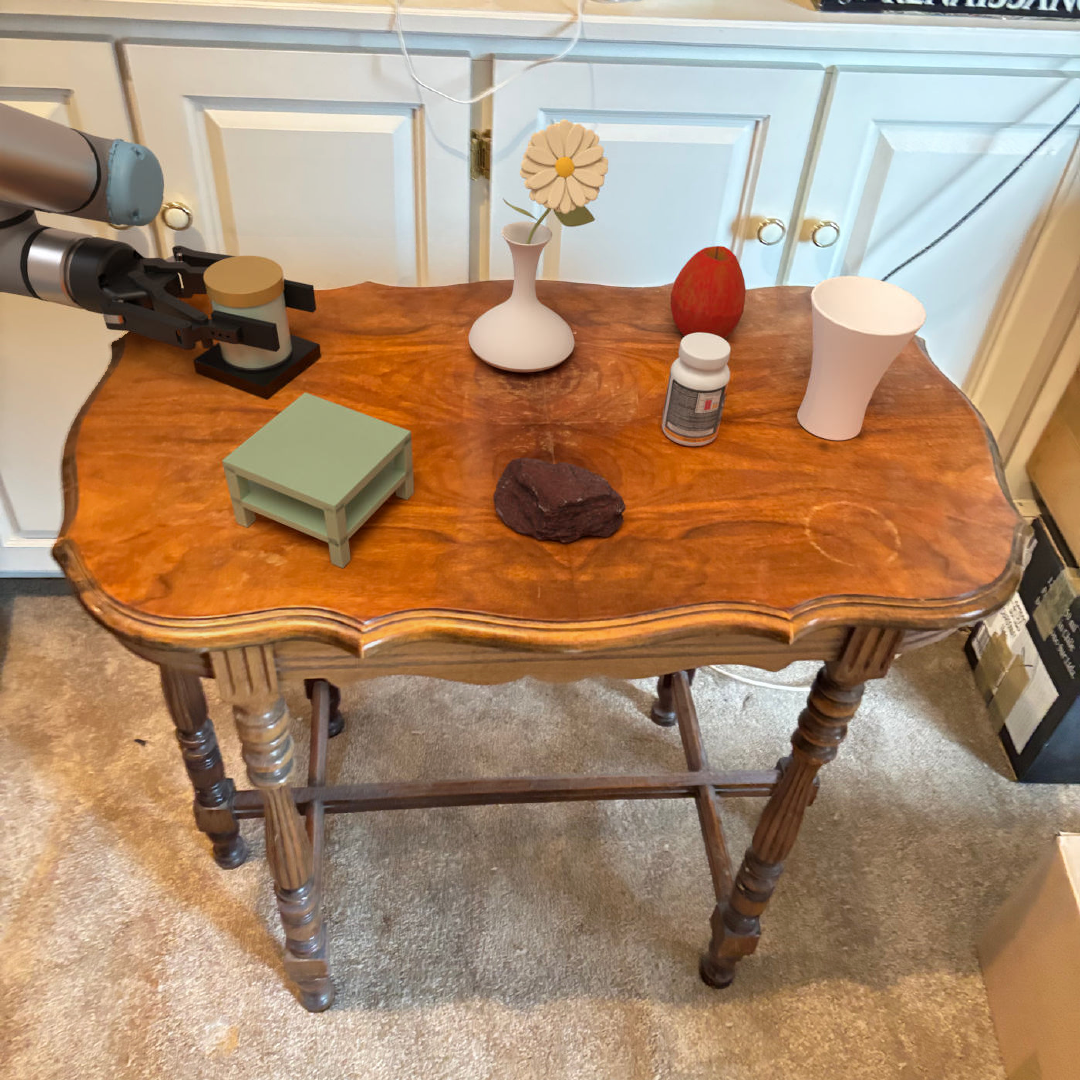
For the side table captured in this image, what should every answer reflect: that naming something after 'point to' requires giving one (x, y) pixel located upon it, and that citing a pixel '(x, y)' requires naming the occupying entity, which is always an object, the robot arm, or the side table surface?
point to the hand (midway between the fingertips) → (294, 317)
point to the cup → (853, 349)
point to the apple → (709, 293)
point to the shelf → (320, 471)
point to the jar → (250, 304)
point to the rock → (557, 501)
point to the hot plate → (259, 379)
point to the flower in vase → (562, 185)
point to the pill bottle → (697, 390)
